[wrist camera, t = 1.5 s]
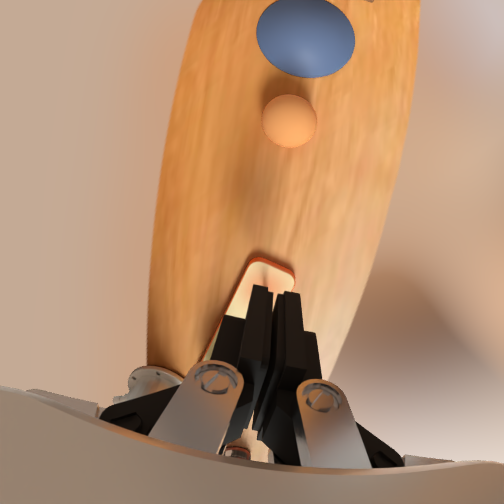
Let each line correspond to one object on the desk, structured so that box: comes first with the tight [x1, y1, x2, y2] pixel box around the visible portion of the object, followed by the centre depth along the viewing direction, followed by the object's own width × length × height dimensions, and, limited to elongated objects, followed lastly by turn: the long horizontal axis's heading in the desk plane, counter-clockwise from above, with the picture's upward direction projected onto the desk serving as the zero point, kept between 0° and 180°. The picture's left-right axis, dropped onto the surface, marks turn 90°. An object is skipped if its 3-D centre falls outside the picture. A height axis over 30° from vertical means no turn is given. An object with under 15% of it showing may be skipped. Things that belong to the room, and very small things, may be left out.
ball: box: [262, 94, 317, 148], centre depth 31 cm, size 6×6×6 cm
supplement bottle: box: [223, 447, 251, 460], centre depth 50 cm, size 6×6×11 cm
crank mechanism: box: [201, 257, 295, 361], centre depth 35 cm, size 25×7×19 cm, turn 156°
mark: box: [257, 0, 355, 78], centre depth 30 cm, size 12×12×1 cm
